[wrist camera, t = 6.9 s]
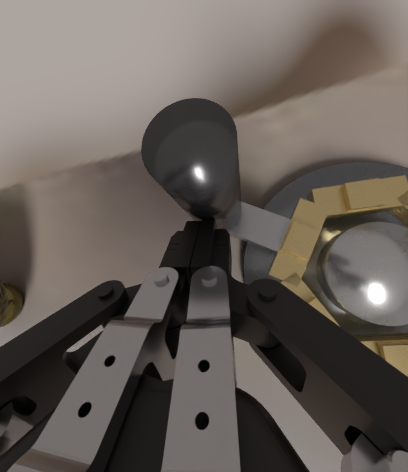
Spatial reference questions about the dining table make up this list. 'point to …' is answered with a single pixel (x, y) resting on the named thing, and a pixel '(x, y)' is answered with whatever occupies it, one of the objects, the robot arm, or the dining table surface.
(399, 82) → the dining table surface
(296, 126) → the dining table surface
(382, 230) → the steel flange
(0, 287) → the cup
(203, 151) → the golden ring with handle
